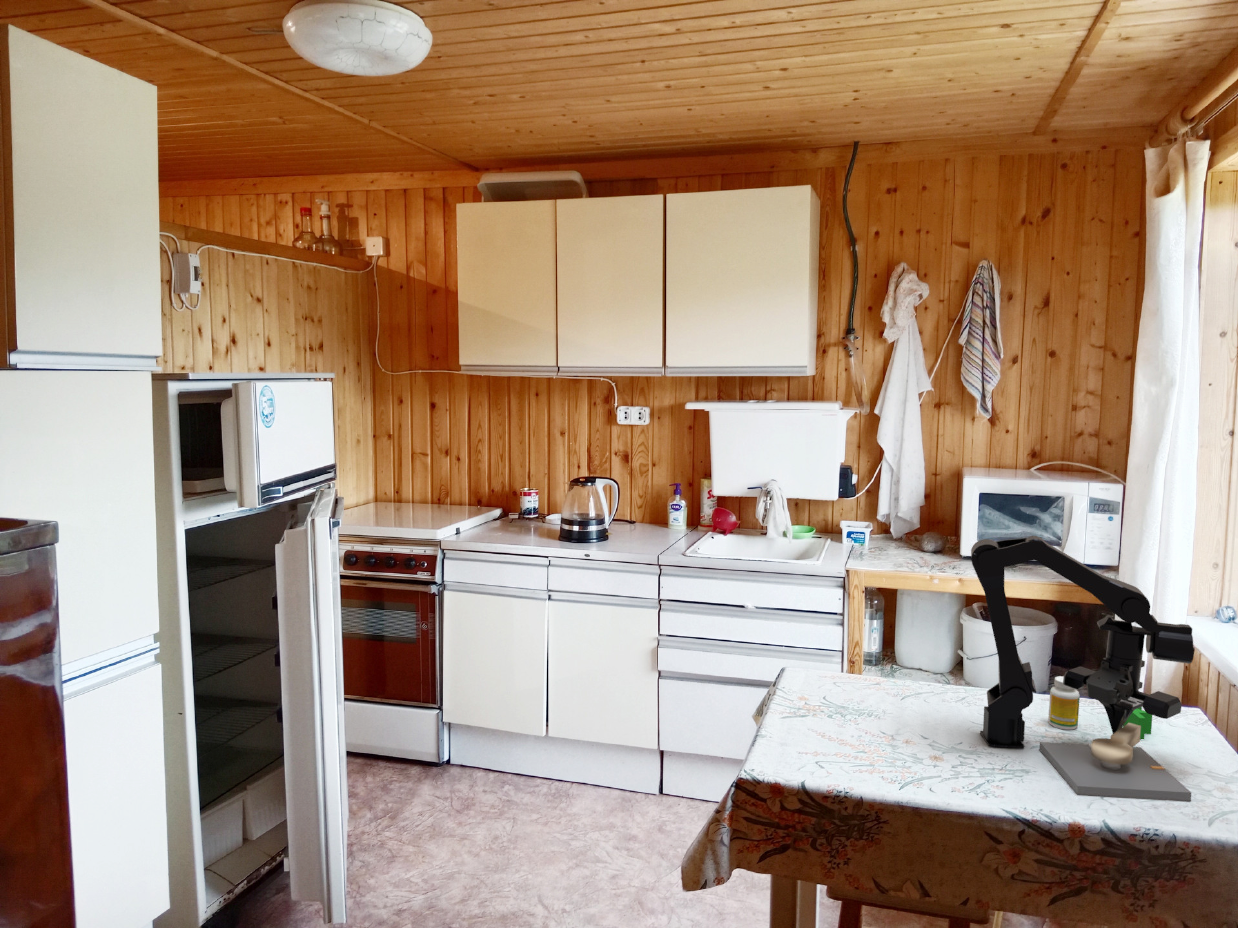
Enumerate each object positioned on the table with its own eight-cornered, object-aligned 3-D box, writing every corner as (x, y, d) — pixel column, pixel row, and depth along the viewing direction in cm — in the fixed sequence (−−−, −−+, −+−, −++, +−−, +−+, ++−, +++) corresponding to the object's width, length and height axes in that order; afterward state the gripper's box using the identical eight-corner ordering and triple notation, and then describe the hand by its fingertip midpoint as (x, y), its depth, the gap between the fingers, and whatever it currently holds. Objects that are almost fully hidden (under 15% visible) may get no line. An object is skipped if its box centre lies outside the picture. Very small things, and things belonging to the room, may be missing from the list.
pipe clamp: (1158, 741, 171) (1160, 718, 170) (1137, 740, 171) (1139, 717, 171) (1132, 718, 182) (1133, 697, 181) (1112, 717, 182) (1114, 696, 182)
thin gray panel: (1077, 794, 148) (1078, 777, 148) (1039, 749, 166) (1040, 734, 166) (1190, 800, 146) (1192, 783, 146) (1140, 754, 164) (1141, 739, 164)
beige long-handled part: (1124, 767, 151) (1125, 751, 151) (1085, 755, 156) (1086, 739, 156) (1153, 745, 161) (1154, 729, 160) (1115, 734, 166) (1116, 719, 165)
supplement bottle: (1045, 718, 181) (1047, 673, 180) (1072, 720, 180) (1075, 675, 179) (1052, 729, 176) (1055, 682, 175) (1081, 731, 175) (1084, 684, 174)
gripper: (1050, 646, 164) (1043, 726, 166) (1156, 679, 149) (1146, 766, 151) (1082, 637, 170) (1075, 713, 172) (1187, 667, 155) (1177, 751, 157)
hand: (1115, 735), depth 163 cm, fingers closed
